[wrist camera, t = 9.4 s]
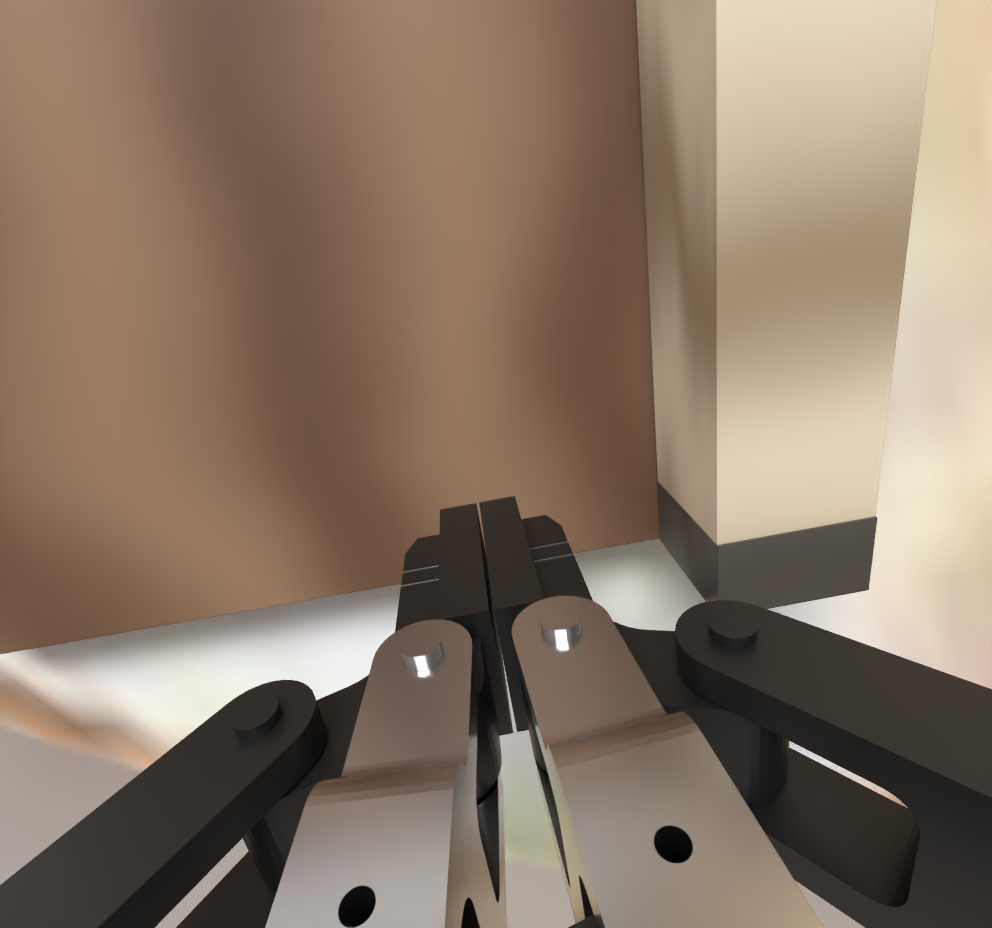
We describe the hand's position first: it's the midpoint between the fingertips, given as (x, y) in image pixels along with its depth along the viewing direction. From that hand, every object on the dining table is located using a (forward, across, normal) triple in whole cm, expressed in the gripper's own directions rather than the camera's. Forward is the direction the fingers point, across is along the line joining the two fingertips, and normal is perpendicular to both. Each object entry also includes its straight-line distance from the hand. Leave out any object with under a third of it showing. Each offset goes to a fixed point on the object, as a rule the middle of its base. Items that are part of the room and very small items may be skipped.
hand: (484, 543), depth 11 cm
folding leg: (+2, -6, -5) cm, 8 cm away
